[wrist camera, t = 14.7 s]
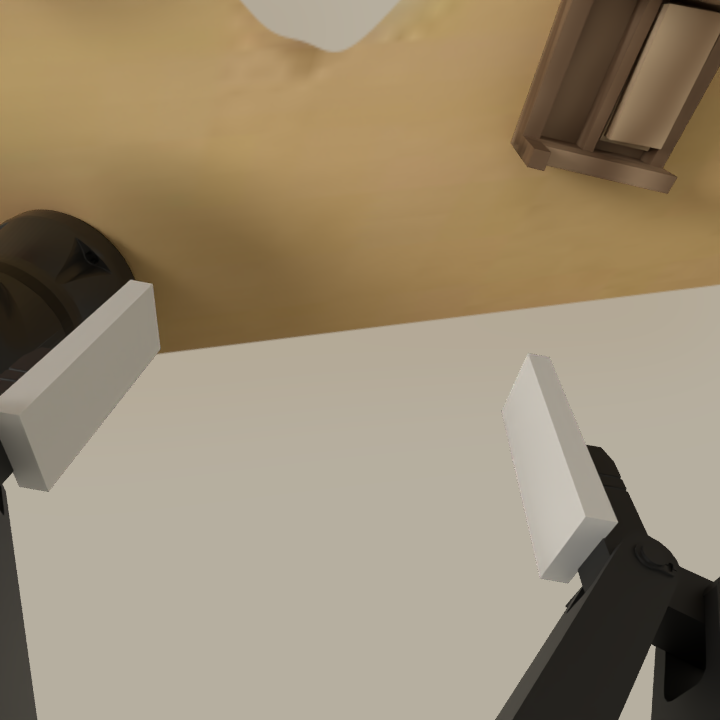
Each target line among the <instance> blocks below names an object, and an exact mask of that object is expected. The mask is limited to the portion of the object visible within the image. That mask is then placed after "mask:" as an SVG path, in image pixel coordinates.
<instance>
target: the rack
mask: <svg viewBox="0 0 720 720" xmlns="http://www.w3.org/2000/svg"><path fill="white" fill-rule="evenodd" d="M661 4H675V5H680V6H685V7H691V8H696V9H701V10H706V11H712V12H717V13H720V0H561V3H560V6H559V9H558V12H557V14H556V17H555V20H554V23H553V26H552V28H551V31H550V34H549V37H548V40H547V42H546V45H545V48H544V51H543V54H542V56H541V59H540V62H539V65H538V68H537V70H536V73H535V76H534V79H533V82H532V84H531V87H530V90H529V93H528V96H527V98H526V101H525V104H524V107H523V110H522V112H521V115H520V118H519V121H518V124H517V127H516V129H515V132H514V135H513V138H512V141H511V144H512V146H513V147H514V149H515V150H516V152H517V153H518V154H519V156H520V157H521V159H522V160H523V162H524V163H525V164H526V166H527V167H530V168H534V169H538V170H542V171H544V170H545V168H546V165H547V166H551V167H556V168H560V169H564V170H568V171H573V172H577V173H581V174H585V175H590V176H594V177H598V178H602V179H607V180H611V181H615V182H620V183H624V184H628V185H632V186H637V187H641V188H645V189H649V190H654V191H658V192H662V193H666V194H668V192H669V191H670V189H671V187H672V185H673V184H674V182H675V180H676V179H677V177H676V176H675V175H673V174H671V173H670V172H668V171H666V170H665V169H663V167H664V165H665V163H666V161H667V160H668V158H669V156H670V154H671V152H672V151H673V149H674V147H675V145H676V143H677V142H678V140H679V138H680V136H681V134H682V133H683V131H684V129H685V127H686V125H687V124H688V122H689V120H690V118H691V116H692V115H693V113H694V111H695V109H696V107H697V106H698V104H699V102H700V100H701V99H702V97H703V95H704V93H705V91H706V90H707V88H708V86H709V84H710V82H711V81H712V79H713V77H714V75H715V73H716V72H717V70H718V68H719V66H720V34H719V36H718V38H717V40H716V42H715V44H714V46H713V48H712V50H711V52H710V54H709V56H708V58H707V60H706V62H705V64H704V65H703V67H702V69H701V71H700V73H699V75H698V77H697V79H696V81H695V83H694V85H693V87H692V89H691V91H690V93H689V95H688V97H687V99H686V101H685V103H684V105H683V107H682V109H681V111H680V113H679V115H678V117H677V119H676V121H675V123H674V125H673V127H672V129H671V131H670V133H669V135H668V137H667V139H666V141H665V143H664V144H663V146H662V148H661V149H657V148H651V147H650V148H649V150H648V151H645V150H641V149H636V148H632V147H628V146H624V145H619V144H615V143H611V142H607V141H602V140H599V138H600V135H601V133H602V131H603V129H604V127H605V125H606V122H607V120H608V118H609V116H610V114H611V112H612V109H613V107H614V105H615V103H616V101H617V98H618V96H619V94H620V92H621V90H622V88H623V85H624V83H625V81H626V79H627V77H628V75H629V72H630V70H631V68H632V66H633V64H634V62H635V59H636V57H637V55H638V53H639V51H640V49H641V46H642V44H643V42H644V40H645V38H646V36H647V33H648V31H649V29H650V27H651V25H652V23H653V20H654V18H655V16H656V14H657V12H658V10H659V7H660V5H661Z"/></svg>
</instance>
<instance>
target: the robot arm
mask: <svg viewBox="0 0 720 720" xmlns="http://www.w3.org/2000/svg"><path fill="white" fill-rule="evenodd" d="M160 349H161V348H160V340H159V332H158V323H157V315H156V307H155V299H154V291H153V284H151V283H145V282H140V281H135V280H134V278H133V275H132V273H131V271H130V269H129V267H128V265H127V263H126V262H125V260H124V259H123V257H122V256H121V254H120V253H119V252H118V250H117V249H116V248H115V247H114V246H113V245H112V244H111V243H110V242H109V241H108V240H107V239H106V238H105V237H104V236H103V235H102V234H100V233H99V232H98V231H96V230H95V229H94V228H92V227H91V226H89V225H88V224H86V223H84V222H82V221H81V220H79V219H76V218H74V217H72V216H70V215H67V214H64V213H60V212H56V211H51V210H32V211H27V212H24V213H22V214H20V215H17V216H15V217H13V218H11V219H9V220H7V221H5V222H3V223H2V224H1V225H0V720H37V715H36V708H35V700H34V693H33V686H32V679H31V672H30V664H29V658H28V649H27V643H26V635H25V628H24V620H23V613H22V606H21V599H20V592H19V584H18V577H17V570H16V563H15V555H14V548H13V541H12V533H11V527H10V519H9V512H8V504H7V497H6V491H5V489H4V487H3V485H2V484H3V482H4V481H5V480H6V479H7V478H8V477H9V476H10V475H11V474H12V472H13V474H14V475H15V478H16V480H17V483H18V485H19V487H24V488H30V489H36V490H41V491H47V492H49V490H50V489H51V488H52V487H53V485H54V484H55V483H56V482H57V480H58V479H59V478H60V476H61V475H62V474H63V473H64V471H65V470H66V469H67V467H68V466H69V465H70V464H71V462H72V461H73V460H74V459H75V457H76V456H77V455H78V453H79V452H80V451H81V450H82V448H83V447H84V446H85V444H86V443H87V442H88V441H89V440H90V438H91V437H92V436H93V434H94V433H95V432H96V430H97V429H98V428H99V427H100V426H101V424H102V423H103V422H104V420H105V419H106V418H107V417H108V415H109V414H110V413H111V412H112V410H113V409H114V408H115V406H116V405H117V404H118V403H119V401H120V400H121V399H122V398H123V396H124V395H125V394H126V392H127V391H128V390H129V388H130V387H131V386H132V385H133V383H134V382H135V381H136V380H137V378H138V377H139V376H140V375H141V373H142V372H143V371H144V370H145V368H146V367H147V366H148V364H149V363H150V362H151V360H152V359H153V358H154V357H155V355H156V354H157V353H158V352H159V350H160ZM502 415H503V420H504V424H505V429H506V433H507V437H508V442H509V446H510V450H511V454H512V459H513V463H514V468H515V472H516V477H517V481H518V485H519V489H520V494H521V498H522V503H523V507H524V511H525V516H526V520H527V524H528V528H529V533H530V537H531V542H532V546H533V550H534V555H535V559H536V563H537V568H538V572H539V577H540V578H541V579H546V580H552V581H557V582H563V583H569V582H570V580H571V579H572V578H573V577H574V576H575V574H576V573H577V572H579V576H580V579H581V583H582V587H581V588H580V590H579V591H578V592H577V593H576V594H575V595H574V597H573V598H572V599H571V600H570V601H569V602H568V604H567V605H566V607H567V609H566V611H565V612H564V614H563V615H562V617H561V619H560V620H559V621H558V623H557V625H556V626H555V628H554V629H553V631H552V633H551V634H550V635H549V637H548V639H547V640H546V642H545V643H544V645H543V646H542V648H541V649H540V651H539V653H538V654H537V656H536V657H535V659H534V661H533V662H532V664H531V665H530V667H529V668H528V670H527V671H526V673H525V674H524V676H523V678H522V679H521V681H520V682H519V684H518V685H517V687H516V688H515V690H514V692H513V693H512V695H511V696H510V698H509V699H508V701H507V702H506V704H505V706H504V707H503V709H502V710H501V712H500V713H499V715H498V716H497V718H496V719H495V720H618V719H619V717H620V714H621V712H622V710H623V708H624V705H625V703H626V701H627V698H628V696H629V694H630V692H631V689H632V687H633V685H634V682H635V680H636V678H637V676H638V673H639V671H640V669H641V667H642V664H643V662H644V660H645V657H646V655H647V653H648V650H649V648H650V646H651V644H652V645H654V646H656V651H655V667H654V683H653V698H652V714H651V720H720V577H719V578H718V579H717V580H715V581H714V582H712V581H710V580H708V579H706V578H704V577H701V576H699V575H697V574H695V573H693V572H690V571H688V570H686V569H684V568H682V567H680V566H679V565H678V562H677V560H676V559H675V557H674V556H673V555H672V553H671V552H670V551H669V550H668V549H667V548H666V547H665V546H663V545H662V544H661V543H660V542H659V541H657V540H655V539H653V538H651V537H650V536H648V535H647V532H646V530H645V528H644V526H643V524H642V522H641V520H640V517H639V515H638V513H637V511H636V509H635V506H634V504H633V502H632V500H631V498H630V495H629V493H628V492H626V487H625V485H624V483H623V480H621V479H620V478H621V476H620V474H619V472H618V470H617V467H616V465H615V463H614V461H613V460H612V459H611V458H610V457H609V456H608V455H607V453H606V452H605V451H604V450H603V449H602V448H601V447H596V446H590V445H586V444H585V441H584V439H583V436H582V434H581V432H580V429H579V427H578V424H577V422H576V419H575V417H574V415H573V412H572V410H571V408H570V405H569V403H568V400H567V398H566V395H565V393H564V390H563V388H562V386H561V383H560V381H559V379H558V376H557V374H556V371H555V369H554V366H553V364H552V361H551V359H550V357H547V356H542V355H536V354H531V353H528V354H527V356H526V359H525V361H524V363H523V365H522V367H521V369H520V372H519V374H518V376H517V378H516V380H515V382H514V385H513V387H512V389H511V391H510V393H509V396H508V398H507V400H506V402H505V404H504V406H503V409H502Z"/></svg>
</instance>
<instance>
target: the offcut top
mask: <svg viewBox="0 0 720 720" xmlns="http://www.w3.org/2000/svg"><path fill="white" fill-rule="evenodd" d="M719 34H720V13H717V12H712V11H706V10H701V9H696V8H691V7H685V6H680V5H675V4H661V5H660V7H659V10H658V12H657V14H656V16H655V18H654V20H653V23H652V25H651V27H650V29H649V32H648V34H647V36H646V39H645V41H644V43H643V46H642V48H641V50H640V53H639V55H638V57H637V60H636V62H635V64H634V67H633V69H632V71H631V73H630V76H629V78H628V80H627V83H626V85H625V87H624V90H623V92H622V94H621V97H620V99H619V101H618V104H617V106H616V108H615V111H614V113H613V115H612V118H611V120H610V122H609V125H608V127H607V129H606V132H605V134H604V136H605V137H607V138H608V139H610V140H615V141H620V142H626V143H631V144H636V145H641V146H646V147H651V148H657V149H661V148H662V146H663V144H664V143H665V141H666V139H667V137H668V135H669V133H670V131H671V129H672V127H673V125H674V123H675V121H676V119H677V117H678V115H679V113H680V111H681V109H682V107H683V105H684V103H685V101H686V99H687V97H688V95H689V93H690V91H691V89H692V87H693V85H694V83H695V81H696V79H697V77H698V75H699V73H700V71H701V69H702V67H703V65H704V64H705V62H706V60H707V58H708V56H709V54H710V52H711V50H712V48H713V46H714V44H715V42H716V40H717V38H718V36H719Z"/></svg>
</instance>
